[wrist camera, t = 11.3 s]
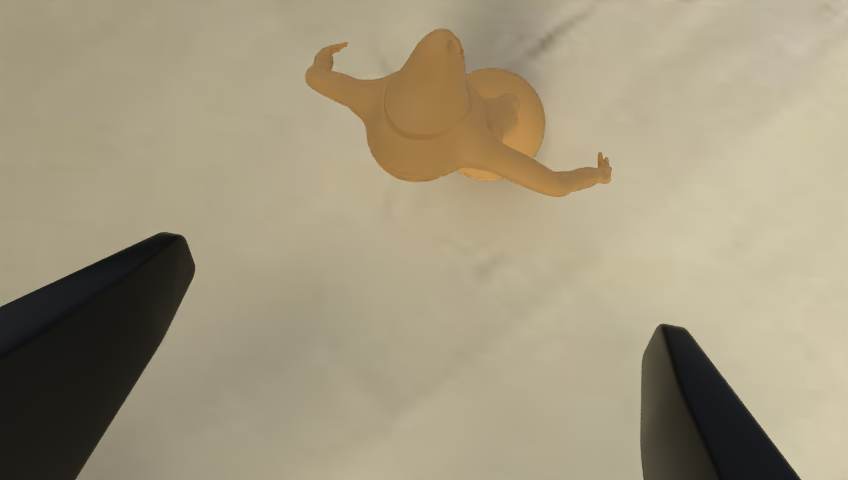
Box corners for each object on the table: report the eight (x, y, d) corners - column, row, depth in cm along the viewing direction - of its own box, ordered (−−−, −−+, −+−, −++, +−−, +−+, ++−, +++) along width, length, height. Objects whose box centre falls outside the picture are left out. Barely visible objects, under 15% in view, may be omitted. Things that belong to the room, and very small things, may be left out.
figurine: (608, 138, 20) (766, -69, 8) (541, 276, 20) (604, 264, 8) (420, 57, 22) (327, -218, 10) (356, 186, 21) (183, 67, 10)
